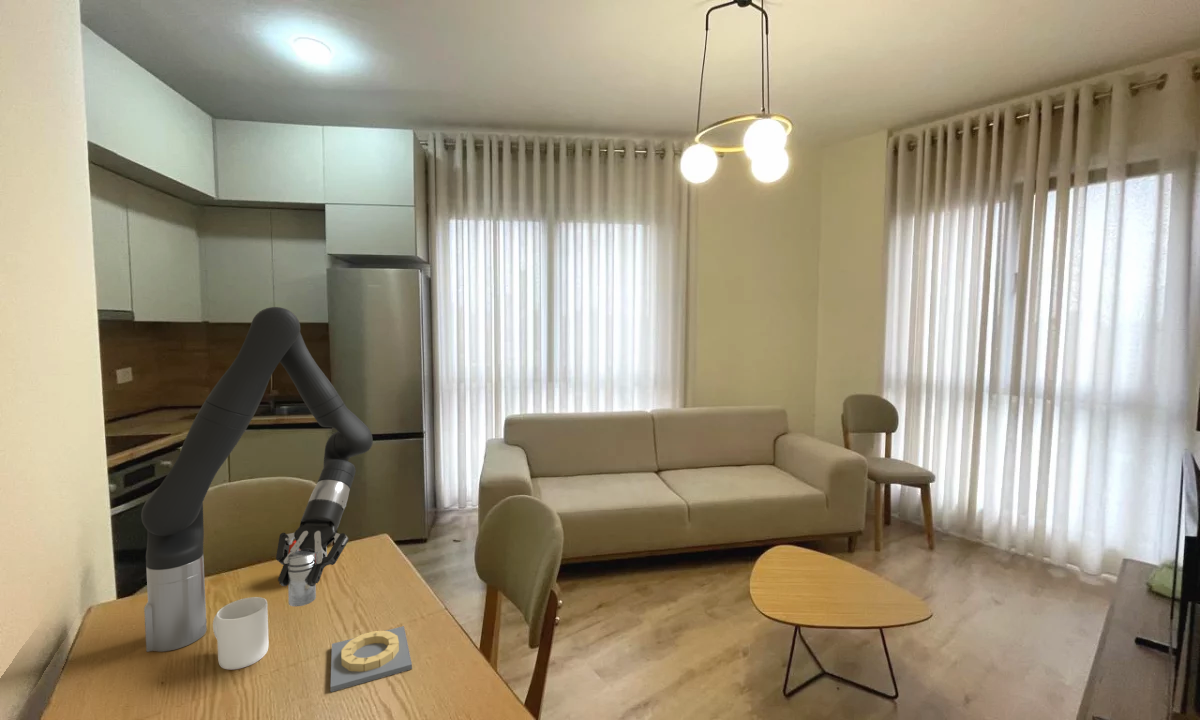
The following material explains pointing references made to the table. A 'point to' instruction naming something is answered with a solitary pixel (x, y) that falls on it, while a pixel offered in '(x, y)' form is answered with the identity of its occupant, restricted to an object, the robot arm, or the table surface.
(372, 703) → the table surface
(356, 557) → the table surface
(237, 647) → the mug
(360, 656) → the ring block
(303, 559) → the piston
